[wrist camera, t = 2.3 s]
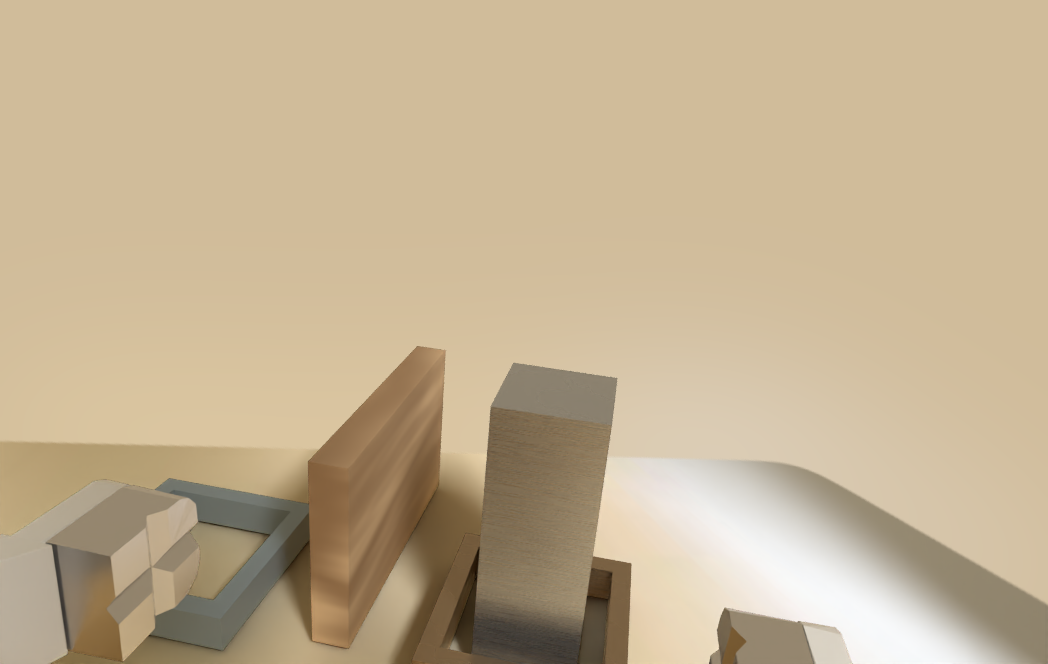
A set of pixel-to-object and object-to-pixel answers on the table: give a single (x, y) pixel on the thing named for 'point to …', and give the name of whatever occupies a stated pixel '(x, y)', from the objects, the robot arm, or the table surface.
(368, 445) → the board
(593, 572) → the key socket
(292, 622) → the table surface
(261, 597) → the keeper socket
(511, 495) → the block
